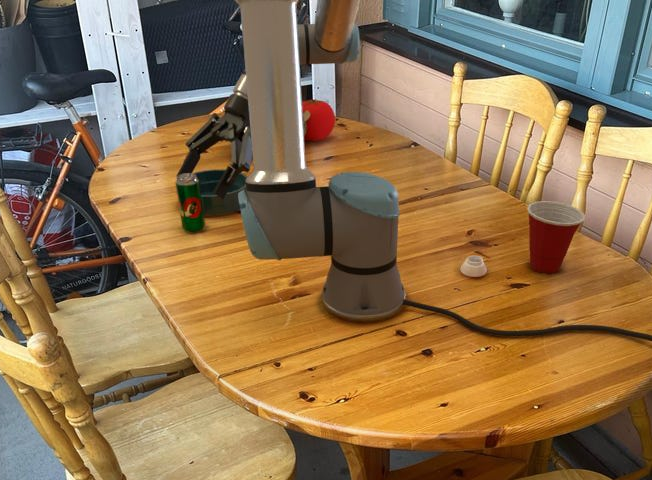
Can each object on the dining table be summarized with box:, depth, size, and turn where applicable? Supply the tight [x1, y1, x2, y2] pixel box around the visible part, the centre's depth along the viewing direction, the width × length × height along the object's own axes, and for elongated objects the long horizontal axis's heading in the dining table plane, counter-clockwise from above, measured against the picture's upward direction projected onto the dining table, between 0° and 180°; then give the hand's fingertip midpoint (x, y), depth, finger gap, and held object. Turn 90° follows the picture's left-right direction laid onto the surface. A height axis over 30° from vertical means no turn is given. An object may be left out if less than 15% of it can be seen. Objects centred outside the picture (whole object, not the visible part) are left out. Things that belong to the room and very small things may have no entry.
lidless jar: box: [459, 255, 488, 278], centre depth 136 cm, size 5×3×5 cm
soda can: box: [174, 172, 206, 233], centre depth 152 cm, size 5×5×12 cm
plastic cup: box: [526, 200, 586, 274], centre depth 135 cm, size 11×11×12 cm
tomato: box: [302, 98, 336, 142], centre depth 201 cm, size 12×13×11 cm
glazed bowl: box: [192, 168, 249, 216], centre depth 165 cm, size 17×17×5 cm
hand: (199, 187), depth 152 cm, fingers open, 13 cm apart
